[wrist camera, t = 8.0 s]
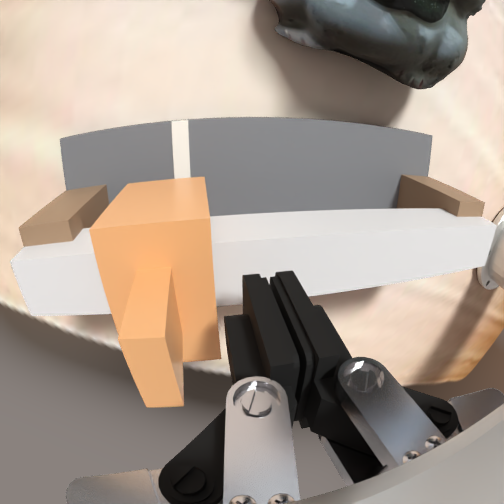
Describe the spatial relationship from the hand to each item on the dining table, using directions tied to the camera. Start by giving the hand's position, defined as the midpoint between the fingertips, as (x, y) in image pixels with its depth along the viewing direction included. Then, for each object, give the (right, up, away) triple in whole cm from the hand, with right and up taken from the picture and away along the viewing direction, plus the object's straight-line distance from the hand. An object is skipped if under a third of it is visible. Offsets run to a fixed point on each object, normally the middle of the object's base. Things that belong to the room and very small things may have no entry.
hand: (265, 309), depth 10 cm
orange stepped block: (-5, +3, +6) cm, 8 cm away
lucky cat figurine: (+6, +21, +4) cm, 23 cm away
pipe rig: (0, +6, +11) cm, 12 cm away
